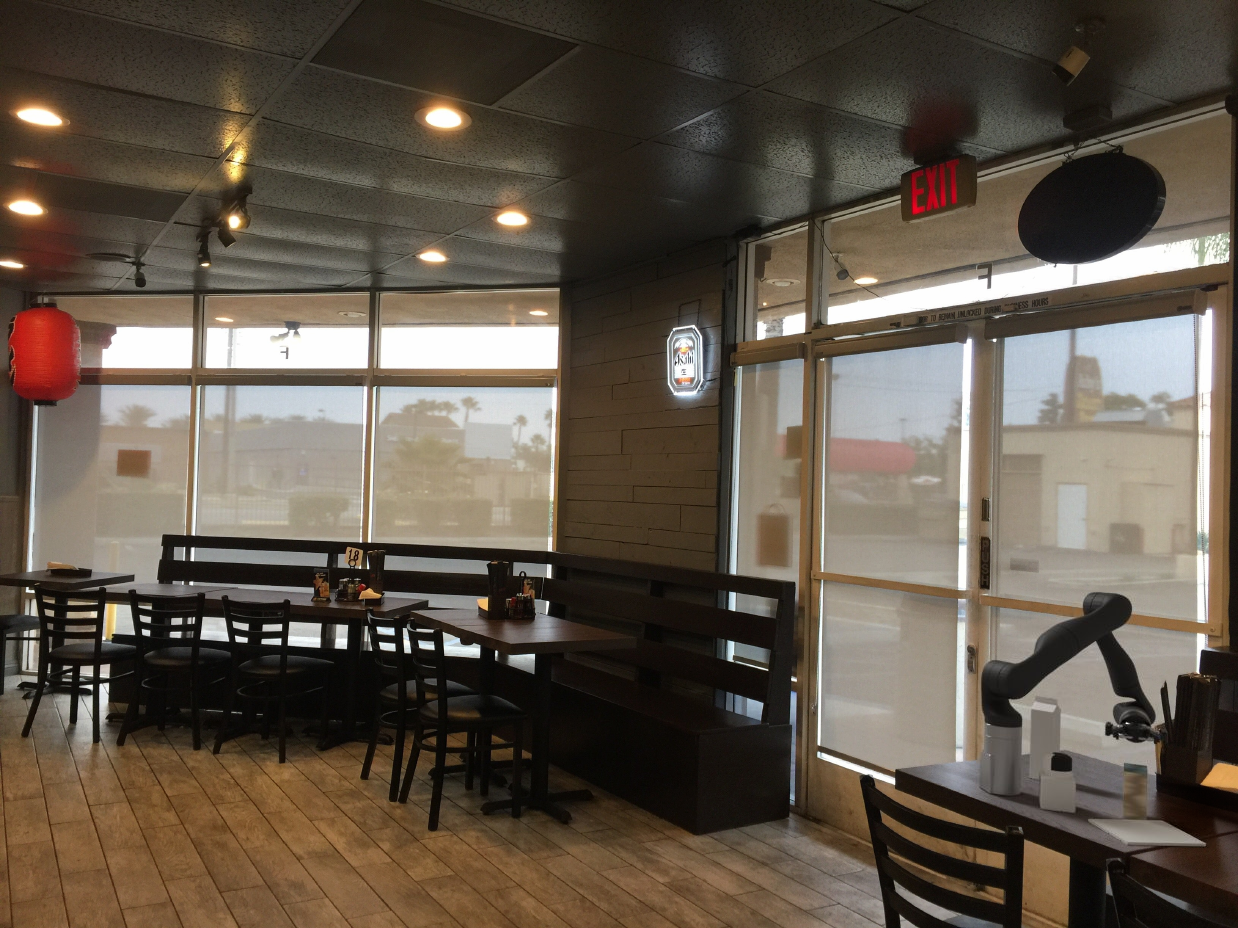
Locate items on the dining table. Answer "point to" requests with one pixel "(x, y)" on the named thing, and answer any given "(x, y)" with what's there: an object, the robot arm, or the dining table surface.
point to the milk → (1043, 732)
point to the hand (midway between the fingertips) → (1136, 737)
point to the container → (1057, 783)
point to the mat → (1146, 832)
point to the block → (1135, 791)
